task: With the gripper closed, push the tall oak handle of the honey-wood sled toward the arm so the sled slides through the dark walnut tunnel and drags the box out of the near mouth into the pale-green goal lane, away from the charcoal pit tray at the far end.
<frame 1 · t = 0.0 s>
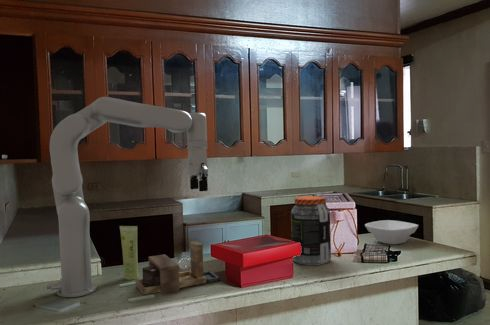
hand: (198, 189, 163), 31 cm above the counter, fingers open, 9 cm apart
goal lane: (136, 291, 142), on the counter
bowl: (391, 243, 199), on the counter
box: (155, 288, 145), resting in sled
tube: (131, 278, 157), on the counter
pit tray: (208, 278, 154), on the counter
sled: (170, 265, 147), point 7 cm above the counter, slide at 0.0 cm
tunnel: (164, 286, 147), on the counter
supplement tub: (311, 261, 173), on the counter
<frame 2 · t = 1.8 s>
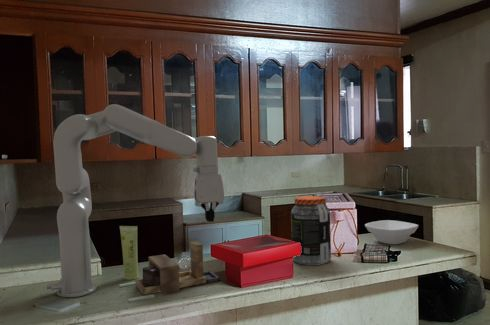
hand: (210, 221, 154), 21 cm above the counter, fingers closed
nothing on the counter moved.
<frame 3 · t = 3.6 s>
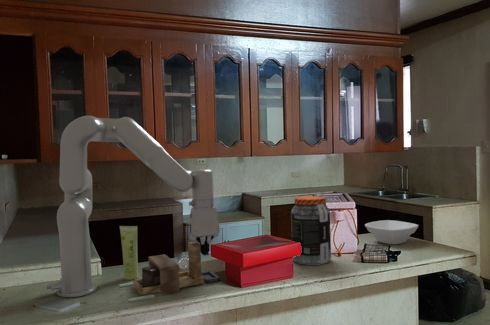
hand: (205, 254, 153), 9 cm above the counter, fingers closed
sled: (168, 265, 147), point 7 cm above the counter, slide at 0.8 cm, touching gripper
everything else where it was.
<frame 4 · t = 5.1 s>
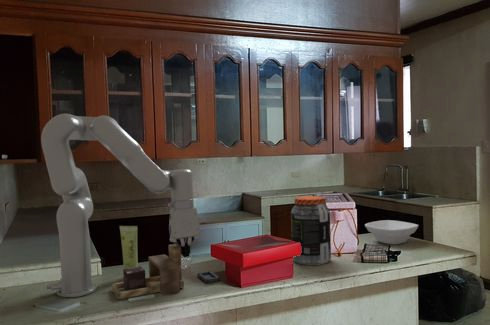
hand: (185, 256, 150), 9 cm above the counter, fingers closed
box: (135, 291, 143), resting in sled
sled: (147, 269, 144), point 7 cm above the counter, slide at 8.0 cm, touching gripper, tunnel
everything else where it was.
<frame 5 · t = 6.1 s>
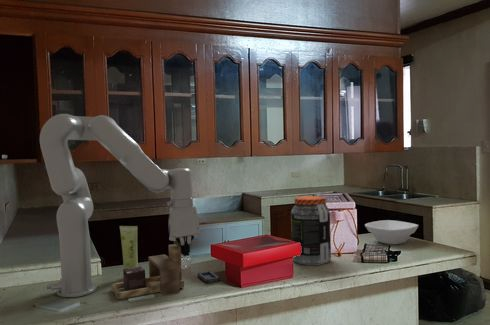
hand: (185, 255, 150), 10 cm above the counter, fingers closed
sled: (147, 269, 144), point 7 cm above the counter, slide at 8.0 cm, touching tunnel
everything else where it was.
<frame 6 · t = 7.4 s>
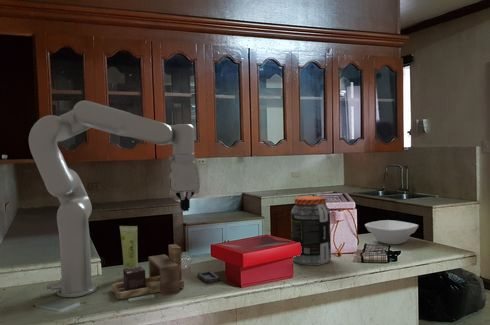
hand: (185, 210, 151), 25 cm above the counter, fingers closed
nothing on the counter moved.
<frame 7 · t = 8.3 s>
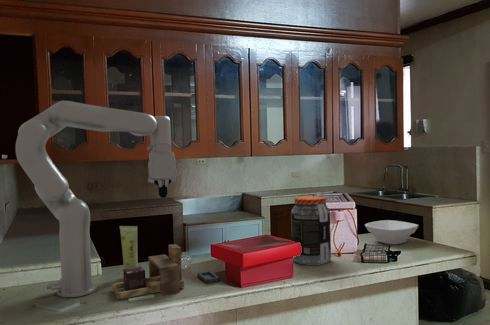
hand: (163, 197, 161), 29 cm above the counter, fingers closed
nothing on the counter moved.
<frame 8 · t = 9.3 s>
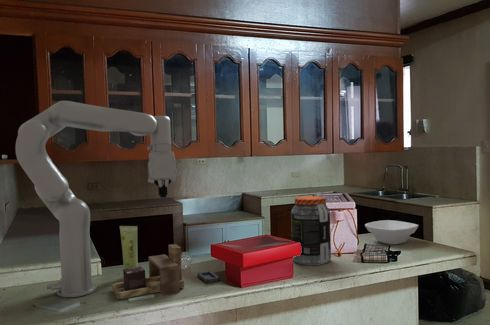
hand: (163, 197, 161), 29 cm above the counter, fingers closed
nothing on the counter moved.
at the end: box inside the target area (1.3 cm from its centre), resting in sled; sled slide at 8.0 cm; box tilted 0° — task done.
